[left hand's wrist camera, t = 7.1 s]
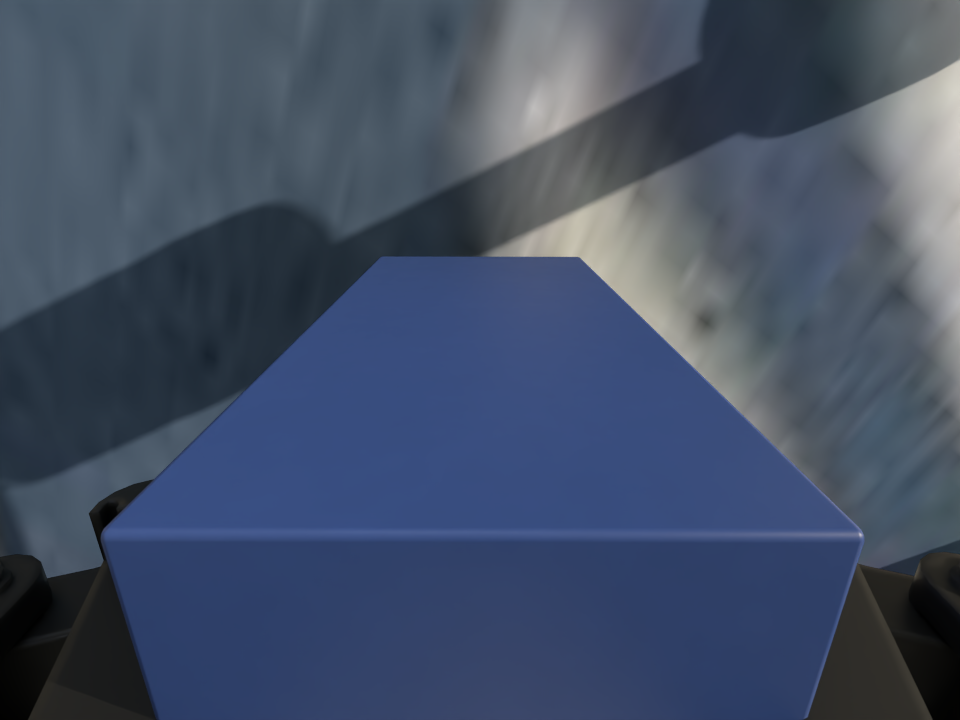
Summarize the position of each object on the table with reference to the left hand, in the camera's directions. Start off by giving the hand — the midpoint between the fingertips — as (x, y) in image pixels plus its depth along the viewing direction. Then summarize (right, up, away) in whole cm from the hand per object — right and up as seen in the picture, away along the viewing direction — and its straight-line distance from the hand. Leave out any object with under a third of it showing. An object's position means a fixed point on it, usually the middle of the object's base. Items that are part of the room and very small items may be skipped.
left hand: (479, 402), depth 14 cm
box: (0, -8, +7) cm, 11 cm away
